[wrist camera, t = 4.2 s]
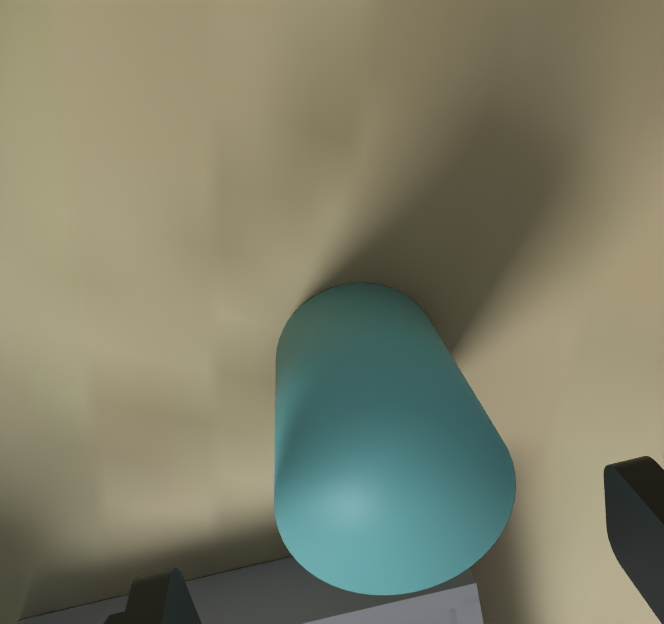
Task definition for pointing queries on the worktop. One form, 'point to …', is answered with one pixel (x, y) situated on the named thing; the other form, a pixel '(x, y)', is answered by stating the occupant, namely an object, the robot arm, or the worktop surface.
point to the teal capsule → (382, 447)
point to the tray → (299, 601)
